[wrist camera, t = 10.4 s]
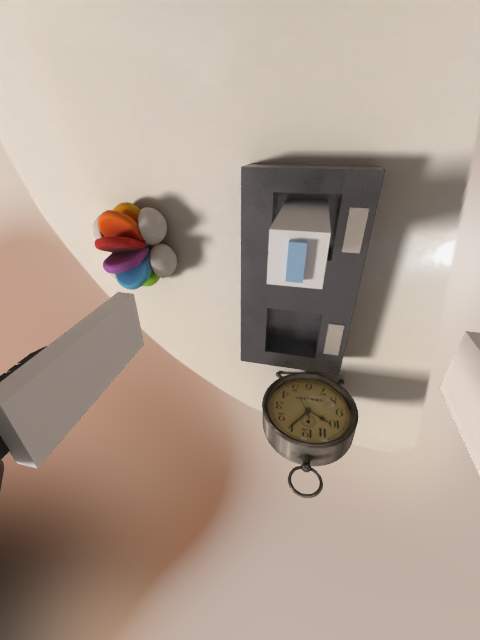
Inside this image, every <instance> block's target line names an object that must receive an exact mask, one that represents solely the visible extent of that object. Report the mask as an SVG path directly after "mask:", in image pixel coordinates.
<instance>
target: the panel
mask: <svg viewBox="0 0 480 640" xmlns="http://www.w3.org/2000/svg"><path fill="white" fill-rule="evenodd" d="M384 172H385V170H384V169H382V168H381V167H379V166H335V165H281V164H248V165H245V166H242V167H241V361H247V362H253V363H260V364H267V365H274V366H280V367H287V368H294V369H300V370H307V371H314V372H321V373H327V374H334V375H339V372H340V368H341V364H342V359H343V355H344V350H345V346H346V341H347V337H348V332H349V328H350V323H351V319H352V315H353V310H354V306H355V301H356V297H357V292H358V288H359V283H360V279H361V274H362V270H363V266H364V261H365V257H366V252H367V248H368V243H369V239H370V234H371V230H372V225H373V221H374V217H375V212H376V208H377V203H378V199H379V194H380V190H381V185H382V181H383V176H384ZM287 199H303V200H328V205H329V216H330V227H331V236H330V243H329V249H328V255H327V262H326V268H325V275H324V281H323V287H322V289H312V288H302V287H292V286H281V285H271V284H267V265H268V245H269V229H270V227H271V225H272V224H273V222H274V220H275V219H276V217H277V215H278V213H279V212H280V210H281V208H282V206H283V205H284V203H285V201H286V200H287Z"/></svg>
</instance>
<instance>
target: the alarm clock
mask: <svg viewBox="0 0 480 640" xmlns="http://www.w3.org/2000/svg"><path fill="white" fill-rule="evenodd" d="M276 376H277V377H279V379H278V380H276V381H275V382H274V383H272V384H271V385H270V386H269V388H268V389H267V391H266V392H265V395H264V398H263V403H262V408H263V428H264V432H265V435H266V438H267V439H268V441H269V443H270V444H271V446H272V447H273V448H274V449H275V450H276V451H277V452H278V453H279V454H280V455H282V456H283V457H285V458H286V459H288V460H290V461H292V462H295V463H297V464H301V466H298V467H295V468H293V469H292V471H291V472H290V474H289V477H288V483H289V486H290V488H291V489H292V491H293V492H294V493H295V494H297V495H298V496H300V497H303V498H312V497H315V496H316V495H318V494H319V493H320V492H321V490H322V487H323V482H322V479H321V476H320V475H319V474H318V473H317V471H315V470H314V469H313V468H311V466H322V465H327V464H330V463H333V462H335V461H337V460H338V459H340V458H341V457H342V456H343V455H344V454H345V453H346V452H347V451H348V449H349V448H350V446H351V444H352V440H353V437H354V433H355V429H356V426H357V422H358V410H357V407H356V404H355V402H354V400H353V398H352V397H351V395H350V394H349V393H348V392H347V390H346V389H344V388H343V387H342V386H341V384H343V383H344V380H342V379H341V380H339V382H338V383H337V382H335V381H333V380H331V379H329V378H327V377H324V376H321V375H317V374H312V373H295V374H290V375H287V376H284V377H283V376H281V374H280V372H277V373H276ZM298 469H302V470H303V471H304V472H309V471H313V472H314V473H315V474H316V475H317V476H318V478H319V481H320V486H319V488H318V490H317V491H316V492H314V493H313V494H302V493H300V492H298V491H297V490H296V489H294V487H293V485H292V483H291V476H292V474H293V472H294V471H296V470H298Z"/></svg>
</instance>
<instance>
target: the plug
mask: <svg viewBox="0 0 480 640" xmlns="http://www.w3.org/2000/svg"><path fill="white" fill-rule="evenodd" d="M330 236H331V227H330V216H329V205H328V200H303V199H287V200H286V201H285V203H284V205H283V206H282V208H281V210H280V212H279V213H278V215H277V217H276V219H275V220H274V222H273V224H272V225H271V227H270V229H269V245H268V265H267V284H271V285H281V286H292V287H302V288H312V289H322V287H323V281H324V275H325V268H326V262H327V255H328V249H329V243H330Z"/></svg>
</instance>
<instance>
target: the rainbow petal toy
mask: <svg viewBox="0 0 480 640" xmlns="http://www.w3.org/2000/svg"><path fill="white" fill-rule="evenodd" d="M166 232H167V223H166V220H165V218H164V217H163V215H162V214H161V213H160V212H159V211H157V210H155V209H153V208H149V207H145V208H143V209H141V210H140V209H139V208H138V207H137V206H135V205H134V204H131V203H121V204H119V205H117V206H116V207H115V208H114V210H113V211H112V210H108V211H105V212H104V213H102V214H101V215H100V216H98V217H97V219H96V220H95V222H94V224H93V233H94V236H95V238H96V241H95V246H96V248H97V249H99V250H103V251H108V252H112V254H111V255H110V256H109V257H108V258H107V259H105V261H104V262H103V267H104V269H105V271H107V272H108V273H110V274H111V275H112V276H113V277H114V278H115V279H117V281H118V282H119V284H120V285H121V286H123V287H124V288H127V289H137V288H139V287H141V286H151V285H153V284H155V283H156V282H157V281H158V280H159V278H165V277H168V276H169V275H171V274H172V273H173V272H174V270H175V268H176V266H177V258H176V254H175V253H174V251H173V250H172V249H171V248H170V247H169V246H167V245H165V244H162V243H159V242H160V241H162V240H163V239H164V237H165V235H166ZM145 242H147V243H148V244H149V245H153V247H150V248H148V247H147V246H146V243H145Z"/></svg>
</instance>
